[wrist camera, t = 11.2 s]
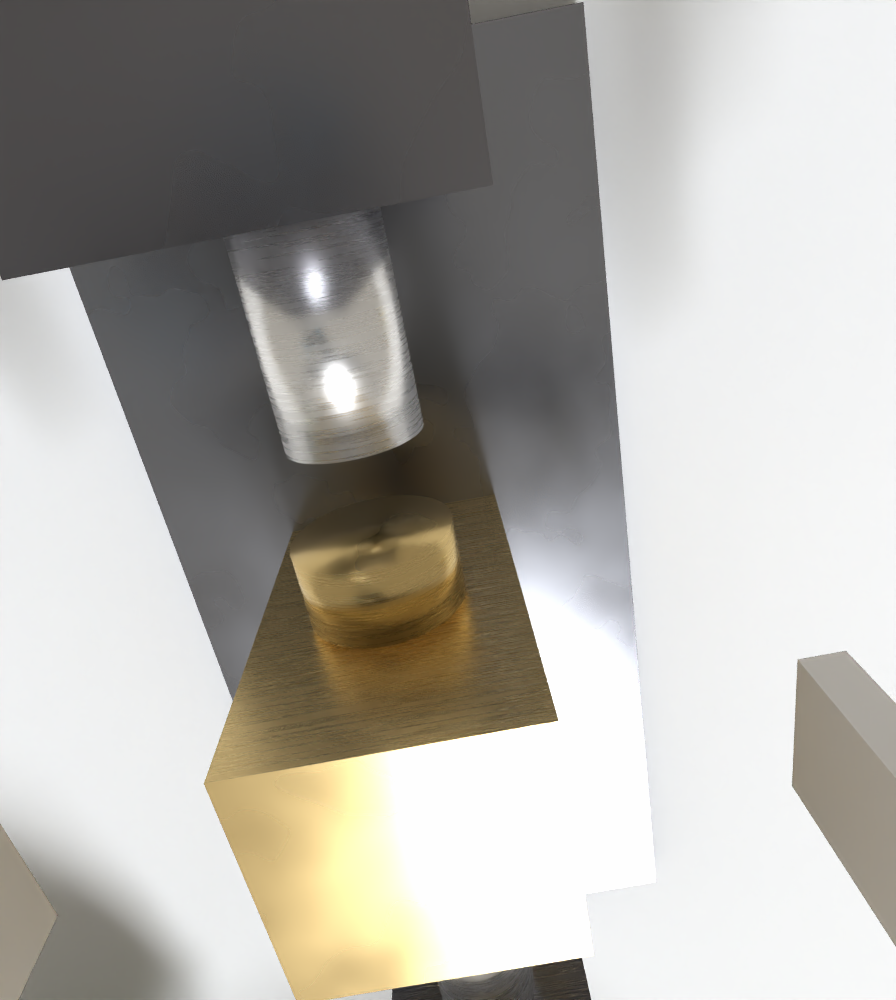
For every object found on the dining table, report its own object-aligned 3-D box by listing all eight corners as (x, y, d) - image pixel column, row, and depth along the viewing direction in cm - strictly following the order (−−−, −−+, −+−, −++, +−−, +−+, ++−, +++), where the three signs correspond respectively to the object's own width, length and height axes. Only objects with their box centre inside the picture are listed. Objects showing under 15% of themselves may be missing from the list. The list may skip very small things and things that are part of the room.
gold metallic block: (275, 475, 16) (168, 698, 9) (484, 436, 16) (545, 631, 9) (353, 736, 20) (320, 1056, 12) (529, 705, 20) (601, 1010, 12)
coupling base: (27, 119, 14) (-474, 17, 6) (576, 9, 14) (804, -248, 6) (324, 920, 23) (280, 1286, 16) (650, 865, 23) (773, 1210, 15)
